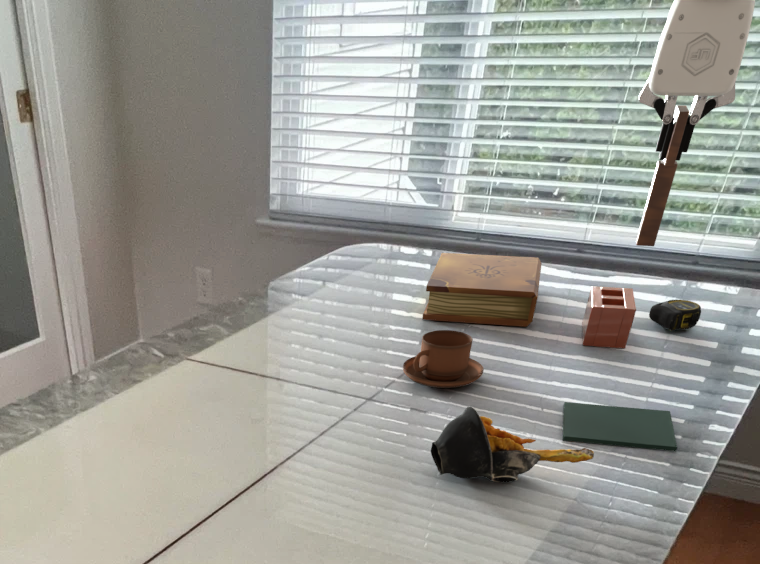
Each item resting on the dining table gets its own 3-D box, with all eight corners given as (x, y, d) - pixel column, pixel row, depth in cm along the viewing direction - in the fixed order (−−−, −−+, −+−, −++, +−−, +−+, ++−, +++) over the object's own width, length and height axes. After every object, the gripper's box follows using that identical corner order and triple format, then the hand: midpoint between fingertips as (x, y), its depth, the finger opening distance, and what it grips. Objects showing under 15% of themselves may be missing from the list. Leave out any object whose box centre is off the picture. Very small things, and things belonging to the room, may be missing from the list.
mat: (668, 415, 117) (670, 411, 117) (675, 451, 109) (677, 447, 108) (563, 405, 121) (564, 401, 120) (562, 440, 112) (563, 436, 112)
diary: (531, 328, 145) (538, 292, 141) (422, 320, 150) (426, 285, 146) (535, 289, 161) (543, 256, 158) (437, 284, 166) (441, 251, 162)
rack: (622, 326, 145) (632, 288, 141) (625, 348, 137) (636, 309, 133) (582, 323, 147) (591, 286, 143) (582, 345, 138) (592, 306, 134)
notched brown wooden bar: (652, 239, 123) (691, 105, 113) (654, 249, 119) (694, 111, 108) (635, 238, 124) (671, 105, 113) (636, 248, 120) (674, 111, 109)
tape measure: (644, 323, 146) (650, 300, 143) (680, 319, 146) (687, 296, 144) (666, 336, 141) (673, 312, 138) (703, 332, 141) (711, 308, 139)
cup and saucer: (460, 401, 123) (467, 357, 119) (387, 384, 128) (391, 342, 124) (494, 375, 130) (502, 333, 126) (423, 360, 135) (429, 320, 131)
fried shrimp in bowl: (417, 423, 106) (558, 367, 104) (441, 506, 110) (578, 455, 107) (432, 424, 98) (586, 364, 95) (457, 515, 101) (607, 459, 98)
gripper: (652, -19, 102) (608, 162, 114) (795, -22, 98) (734, 165, 110) (649, -20, 107) (608, 152, 119) (785, -24, 103) (728, 155, 115)
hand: (669, 157), depth 115 cm, fingers closed on notched brown wooden bar, 1 cm apart
